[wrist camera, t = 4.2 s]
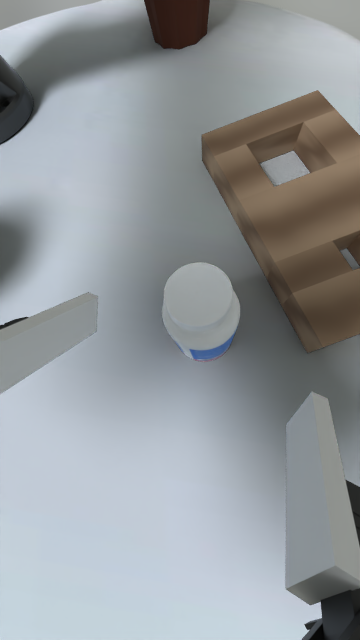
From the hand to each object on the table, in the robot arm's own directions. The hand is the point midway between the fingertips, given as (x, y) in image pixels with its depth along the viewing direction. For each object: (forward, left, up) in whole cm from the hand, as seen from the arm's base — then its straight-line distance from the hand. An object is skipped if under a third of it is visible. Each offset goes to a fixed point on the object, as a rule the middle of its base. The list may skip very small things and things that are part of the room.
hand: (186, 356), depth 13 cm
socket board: (-11, +17, -8) cm, 22 cm away
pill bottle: (-3, +2, -8) cm, 9 cm away
